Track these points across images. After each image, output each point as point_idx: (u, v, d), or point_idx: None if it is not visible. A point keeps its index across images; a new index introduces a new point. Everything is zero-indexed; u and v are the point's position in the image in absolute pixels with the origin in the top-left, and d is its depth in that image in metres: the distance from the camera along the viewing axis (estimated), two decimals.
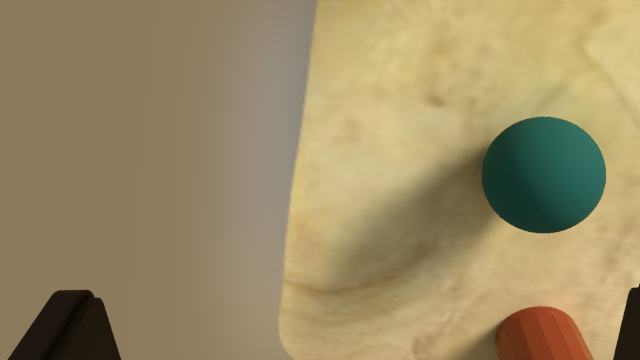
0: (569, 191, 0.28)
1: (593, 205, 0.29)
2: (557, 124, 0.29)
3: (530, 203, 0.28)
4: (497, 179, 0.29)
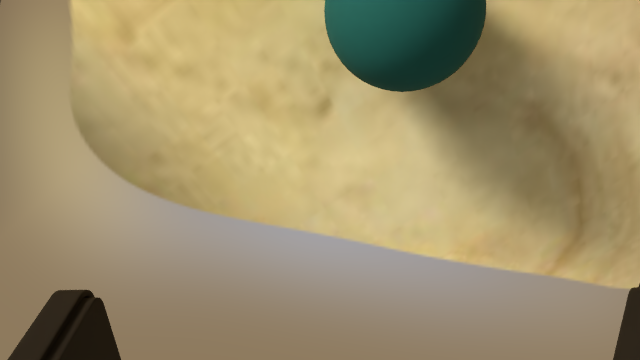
0: (390, 19, 0.20)
1: None
2: (325, 3, 0.22)
3: (408, 66, 0.21)
4: (386, 88, 0.22)
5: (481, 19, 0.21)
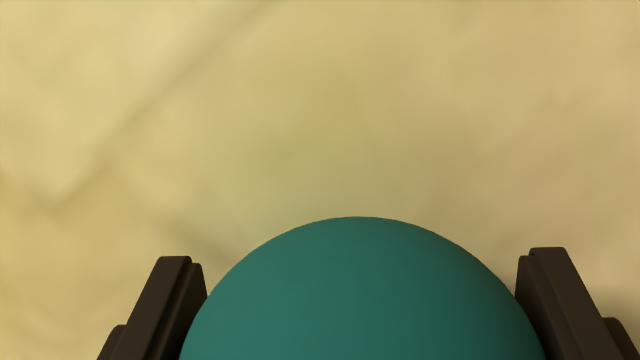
0: None
1: None
2: None
3: None
4: None
5: None
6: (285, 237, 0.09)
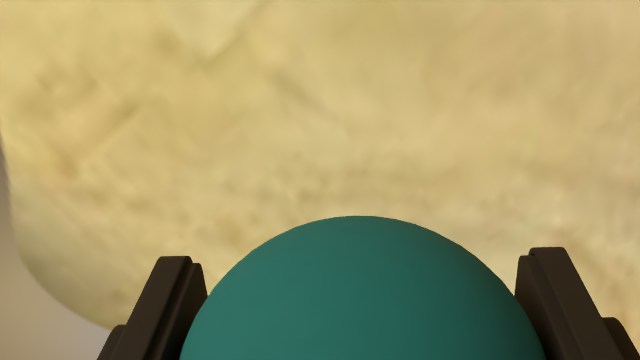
0: None
1: None
2: None
3: None
4: None
5: None
6: (286, 236, 0.09)
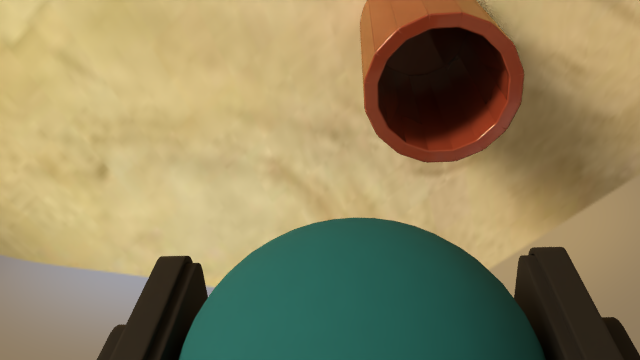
0: None
1: None
2: None
3: None
4: None
5: None
6: (285, 238, 0.09)
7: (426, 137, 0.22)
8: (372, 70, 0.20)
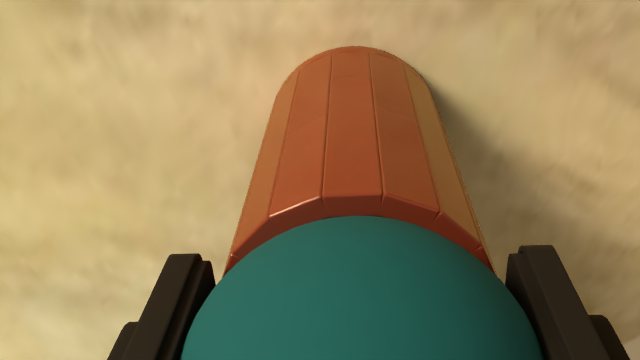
0: None
1: None
2: None
3: None
4: None
5: None
6: (285, 236, 0.09)
7: None
8: None
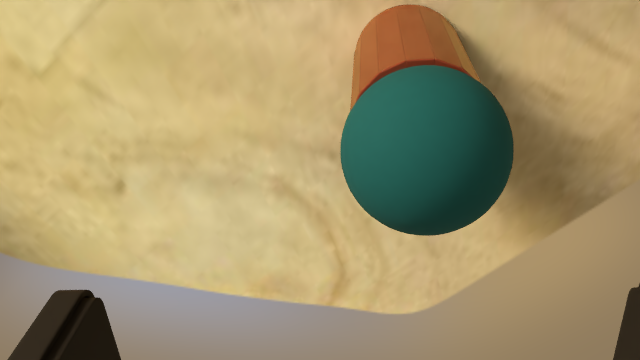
0: (409, 180, 0.18)
1: (448, 126, 0.18)
2: None
3: (430, 222, 0.19)
4: None
5: (508, 165, 0.19)
6: (393, 72, 0.21)
7: None
8: None
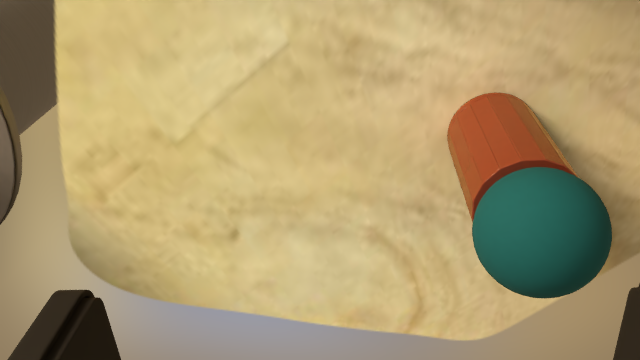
0: (541, 262, 0.25)
1: (572, 223, 0.24)
2: (475, 230, 0.27)
3: (552, 291, 0.26)
4: None
5: None
6: (517, 173, 0.27)
7: None
8: (479, 194, 0.29)
